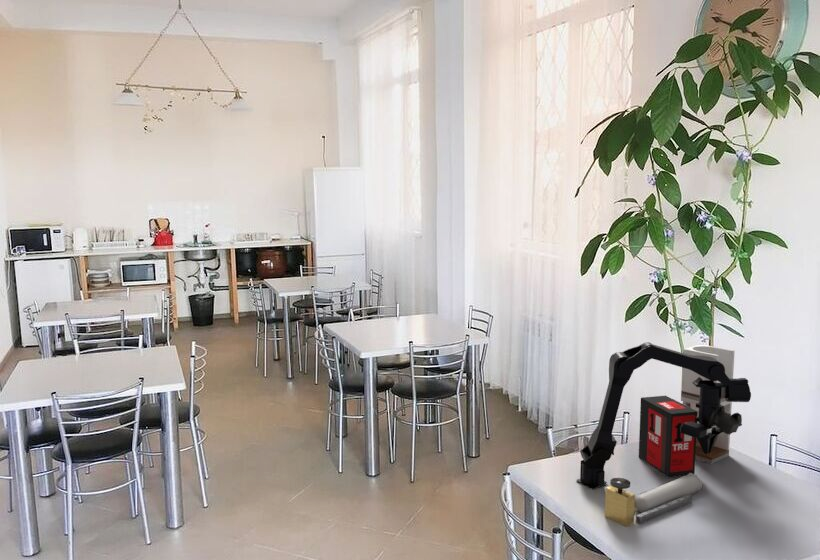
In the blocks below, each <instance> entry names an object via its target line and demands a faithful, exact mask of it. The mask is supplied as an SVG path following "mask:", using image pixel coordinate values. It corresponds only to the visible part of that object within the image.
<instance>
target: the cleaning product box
mask: <svg viewBox="0 0 820 560" xmlns="http://www.w3.org/2000/svg"><path fill="white" fill-rule="evenodd" d="M639 410H640V411H639V434H638V435H639V436H638V440H639V442H638V458H639V459H640V460H641V461H643V462H645V463H646V464H647V465H648V466H650V467H652V468H653V469H654V470H656V471H658V472H659V473H661V474H662V475H663V476H665V477H667V478H668V479H671V478H677V477H678V478H681V477H683V476H686V475H688V474H689V473H692V474H695V475H696V472H695V471H696V470H695V469H696V459H695V455H696V438H695V437H692V436H689V435H686V434H683V433H681V432H680V427H681V425H682V424H684V423H687V422H690V421H691V422H694V423H697V421H695V417H697V414H698V411H696V410H694V409H692V408H690V407H688V406H686V405H684V404H683V402H682V403H681V401H680V402H679V401H677V400H676V399H673V398H671V397H669V396H667V395H656V396H646V397H644V396H643V397H640V409H639Z"/></svg>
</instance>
